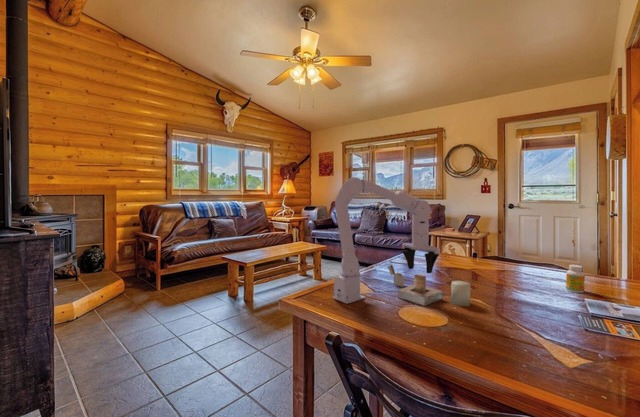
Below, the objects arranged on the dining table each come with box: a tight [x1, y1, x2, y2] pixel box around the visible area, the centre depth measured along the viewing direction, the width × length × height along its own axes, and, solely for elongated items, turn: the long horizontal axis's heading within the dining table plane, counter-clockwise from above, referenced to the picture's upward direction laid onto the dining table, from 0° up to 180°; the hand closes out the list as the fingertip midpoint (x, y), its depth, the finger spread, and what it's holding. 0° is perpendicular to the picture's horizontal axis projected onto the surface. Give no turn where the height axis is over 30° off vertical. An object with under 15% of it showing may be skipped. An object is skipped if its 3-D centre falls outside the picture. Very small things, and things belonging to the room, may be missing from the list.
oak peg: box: [413, 274, 427, 294], centre depth 111 cm, size 4×4×8 cm
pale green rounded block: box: [450, 280, 471, 307], centre depth 107 cm, size 6×6×7 cm
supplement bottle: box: [565, 264, 586, 294], centre depth 118 cm, size 5×5×10 cm
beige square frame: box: [397, 284, 443, 307], centre depth 112 cm, size 11×11×3 cm
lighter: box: [387, 264, 405, 288], centre depth 129 cm, size 7×2×8 cm, turn 44°
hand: (419, 270), depth 111 cm, fingers open, 7 cm apart
